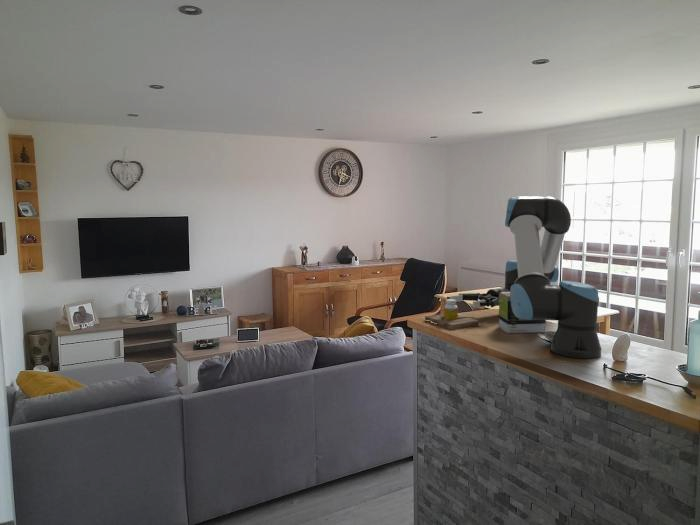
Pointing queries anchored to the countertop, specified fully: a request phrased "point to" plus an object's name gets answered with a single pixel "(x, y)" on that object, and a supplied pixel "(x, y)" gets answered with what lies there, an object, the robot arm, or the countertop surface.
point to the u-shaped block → (452, 322)
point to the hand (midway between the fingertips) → (461, 302)
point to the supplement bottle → (450, 310)
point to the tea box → (515, 318)
